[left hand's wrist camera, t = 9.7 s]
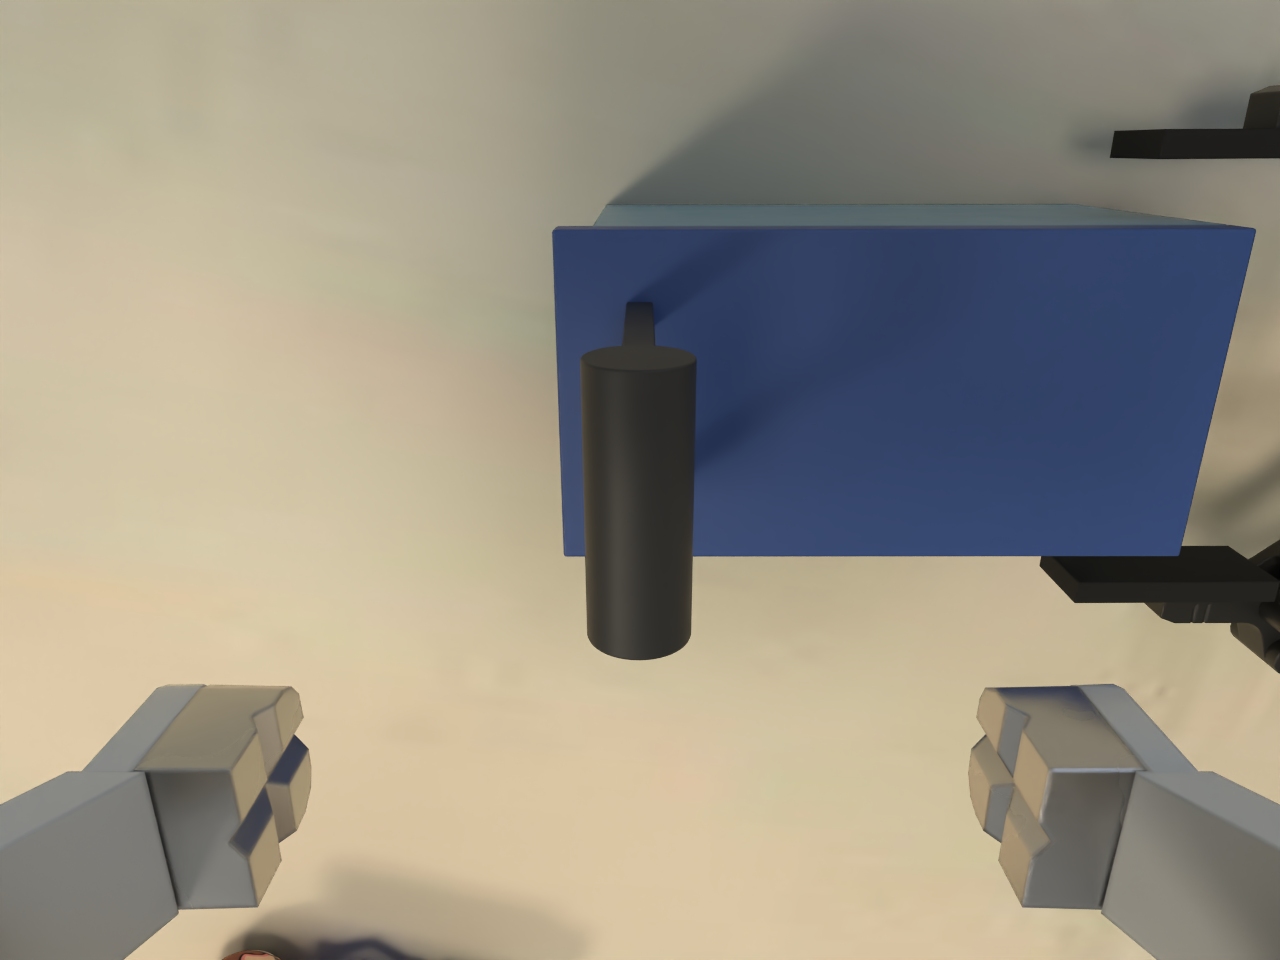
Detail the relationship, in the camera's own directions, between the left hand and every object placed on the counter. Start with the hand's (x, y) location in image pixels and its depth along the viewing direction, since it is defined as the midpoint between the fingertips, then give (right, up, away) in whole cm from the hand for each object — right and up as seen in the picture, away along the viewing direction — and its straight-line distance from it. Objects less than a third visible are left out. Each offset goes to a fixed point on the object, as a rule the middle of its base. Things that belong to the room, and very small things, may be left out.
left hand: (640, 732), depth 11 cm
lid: (+7, +6, +15) cm, 17 cm away
